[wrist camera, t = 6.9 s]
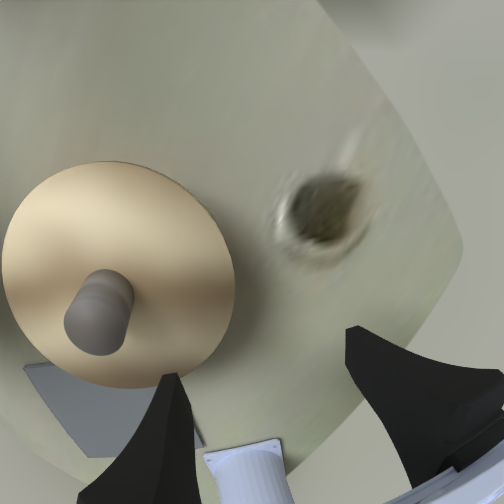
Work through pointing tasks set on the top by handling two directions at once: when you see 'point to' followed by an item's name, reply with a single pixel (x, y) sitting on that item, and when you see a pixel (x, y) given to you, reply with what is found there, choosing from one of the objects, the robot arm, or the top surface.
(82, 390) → the rubber mat
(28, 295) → the oak lid
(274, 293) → the top surface
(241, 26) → the top surface
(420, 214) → the top surface
